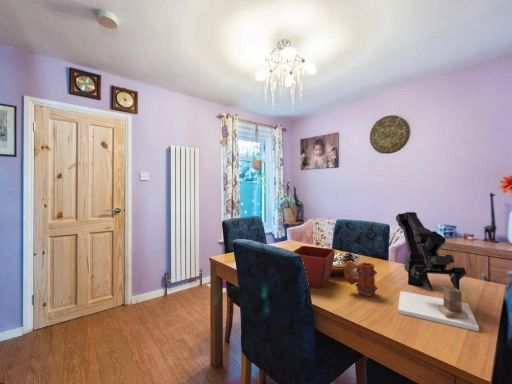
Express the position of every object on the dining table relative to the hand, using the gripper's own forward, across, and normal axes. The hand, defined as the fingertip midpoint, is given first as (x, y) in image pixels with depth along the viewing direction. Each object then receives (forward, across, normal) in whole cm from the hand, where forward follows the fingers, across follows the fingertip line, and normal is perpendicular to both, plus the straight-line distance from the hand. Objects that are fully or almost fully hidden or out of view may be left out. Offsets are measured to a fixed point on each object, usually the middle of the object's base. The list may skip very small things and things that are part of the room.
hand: (445, 291), depth 97 cm
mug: (-2, -30, +14) cm, 33 cm away
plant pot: (-9, -51, +21) cm, 56 cm away
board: (+5, -4, +6) cm, 9 cm away
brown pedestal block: (+8, 0, +1) cm, 8 cm away
